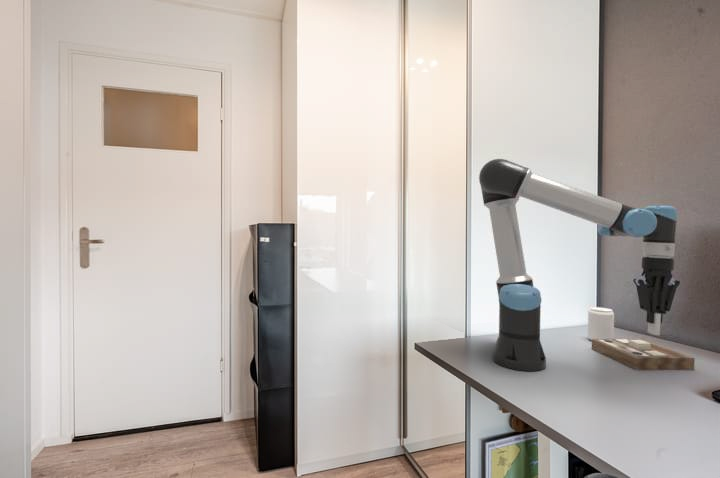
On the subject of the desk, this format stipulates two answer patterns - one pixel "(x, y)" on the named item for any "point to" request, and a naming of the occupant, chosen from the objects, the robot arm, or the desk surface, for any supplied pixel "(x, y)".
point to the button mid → (639, 344)
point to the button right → (655, 353)
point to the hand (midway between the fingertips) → (653, 333)
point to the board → (643, 356)
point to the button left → (622, 341)
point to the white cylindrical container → (600, 323)
